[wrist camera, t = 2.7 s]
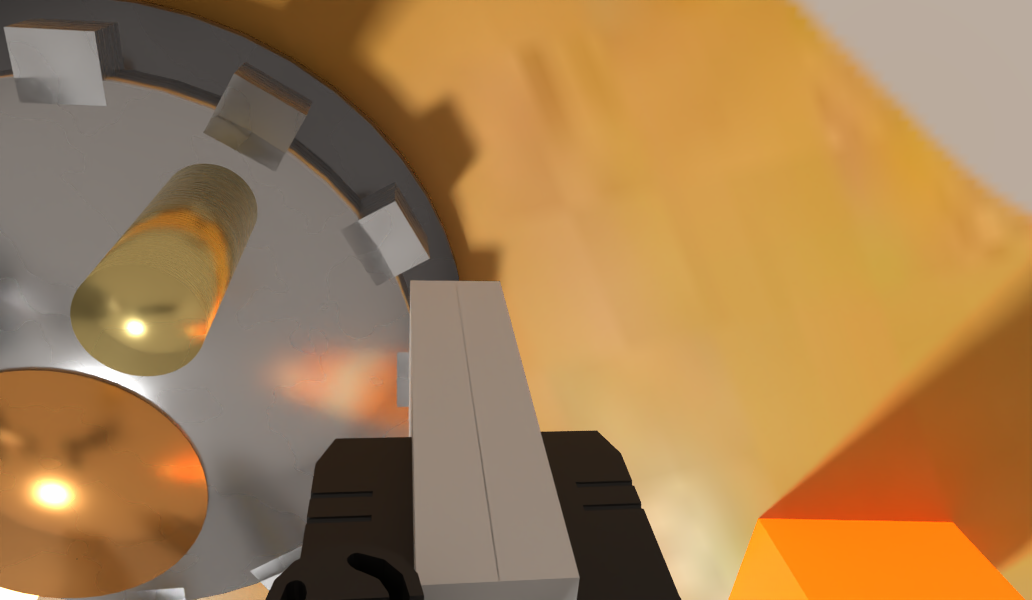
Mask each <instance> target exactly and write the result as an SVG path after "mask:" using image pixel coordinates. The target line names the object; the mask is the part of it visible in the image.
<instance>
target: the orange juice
mask: <svg viewBox="0 0 1032 600" xmlns="http://www.w3.org/2000/svg"><path fill="white" fill-rule="evenodd" d="M729 600H1025V599H1024V598H1023V597H1022V596H1021V595H1020V594H1019V593H1018V592H1017V591H1016V590H1015V589H1014V588H1013V586H1012V585H1011V584H1010V583H1009V582H1008V581H1007V580H1006V579H1005V578H1004V577H1003V576H1002V575H1001V574H1000V572H999V571H998V570H997V569H996V568H995V567H994V566H993V565H992V564H991V563H990V562H989V561H988V560H987V559H986V557H985V556H984V555H983V554H982V553H981V552H980V551H979V550H978V549H977V548H976V547H975V546H974V545H973V544H972V542H971V541H970V540H969V539H968V538H967V537H966V536H965V535H964V534H963V533H962V532H961V531H960V530H959V529H958V527H957V526H956V525H955V524H954V523H953V522H915V521H864V520H812V519H761V518H758V521H757V524H756V526H755V529H754V532H753V534H752V537H751V540H750V543H749V545H748V548H747V551H746V554H745V556H744V559H743V562H742V564H741V567H740V570H739V573H738V575H737V578H736V581H735V583H734V586H733V589H732V592H731V594H730V597H729Z"/></svg>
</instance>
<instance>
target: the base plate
mask: <svg viewBox="0 0 1032 600" xmlns="http://www.w3.org/2000/svg"><path fill="white" fill-rule="evenodd" d="M33 18H41V19H60V20H78V21H97V22H116V23H118V28H119V35H120V42H121V49H122V56H123V63H124V69H130V70H135V71H139V72H143V73H148V74H152V75H157V76H161V77H165V78H170V79H174V80H178V81H181V82H183V83H186V84H189V85H192V86H195V87H197V88H200V89H203V90H206V91H209V92H211V93H214V94H217V95H220V96H222V95H223V93H224V92H225V90H226V88H227V86H228V84H229V82H230V80H231V78H232V76H233V74H234V73H235V72H236V71H237V70H238V69H239V68H240V67H241V66H242V65H243V64H244V63H245V62H247V63H249V64H250V65H252V66H254V67H255V68H257V69H259V70H260V71H262V72H264V73H266V74H267V75H269V76H271V77H272V78H274V79H276V80H277V81H279V82H281V83H282V84H284V85H286V86H288V87H289V88H291V89H293V90H294V91H296V92H298V93H299V94H301V95H303V96H304V97H306V98H308V99H310V100H311V101H313V102H312V104H311V106H310V109H309V111H308V114H307V116H306V118H305V119H304V121H303V123H302V125H301V127H300V128H299V130H298V132H297V134H296V136H295V138H296V139H298V140H299V141H300V142H301V143H303V144H304V145H305V146H306V147H307V148H309V149H310V150H311V151H312V152H313V153H315V154H316V155H317V156H318V157H319V158H321V159H322V160H323V161H324V162H325V163H327V164H328V165H329V166H330V167H331V168H332V169H333V170H334V171H335V172H336V173H337V174H338V175H339V176H340V177H341V179H342V180H343V181H344V182H345V183H346V184H347V185H348V186H349V187H350V188H351V189H352V190H353V191H354V192H355V193H356V195H357V196H358V197H359V198H360V200H361V199H363V198H365V197H367V196H369V195H371V194H373V193H375V192H376V191H378V190H380V189H382V188H384V187H386V186H388V185H390V184H392V183H394V182H395V183H396V185H397V186H398V188H399V190H400V191H401V193H402V195H403V196H404V198H405V200H406V201H407V203H408V205H409V206H410V208H411V210H412V211H413V213H414V215H415V216H416V218H417V220H418V222H419V223H420V225H421V227H422V228H423V230H424V232H425V233H426V235H427V238H428V247H429V255H430V259H428V260H426V261H424V262H422V263H420V264H418V265H416V266H414V267H413V268H411V269H409V270H407V271H405V272H403V273H402V274H403V277H404V280H405V282H406V285H407V288H408V291H409V296H410V280H417V281H459V276H458V271H457V266H456V262H455V259H454V256H453V253H452V250H451V247H450V244H449V241H448V238H447V235H446V232H445V229H444V227H443V225H442V222H441V220H440V218H439V216H438V214H437V212H436V210H435V208H434V206H433V204H432V202H431V200H430V198H429V196H428V194H427V192H426V190H425V189H424V187H423V186H422V184H421V183H420V181H419V180H418V178H417V177H416V175H415V174H414V172H413V171H412V169H411V168H410V166H409V165H408V163H407V162H406V160H405V159H404V157H403V156H402V154H401V153H400V152H399V151H398V150H397V149H396V148H395V146H394V145H393V144H392V143H391V142H390V141H389V140H388V138H387V137H386V136H385V135H384V134H383V133H382V132H381V130H380V129H379V128H378V127H377V126H376V125H375V124H374V122H373V121H372V120H371V119H370V118H369V117H367V116H366V115H365V114H364V113H363V112H362V111H361V110H360V109H358V108H357V107H356V106H355V105H354V104H353V103H352V102H351V101H349V100H348V99H347V98H346V97H345V96H344V95H343V94H342V93H340V92H339V91H338V90H337V89H336V88H335V87H333V86H332V85H331V84H329V83H328V82H326V81H325V80H323V79H322V78H320V77H319V76H318V75H316V74H315V73H313V72H312V71H310V70H309V69H307V68H306V67H305V66H303V65H302V64H300V63H299V62H297V61H296V60H294V59H293V58H291V57H289V56H287V55H285V54H283V53H282V52H280V51H278V50H276V49H274V48H272V47H270V46H268V45H266V44H264V43H263V42H261V41H259V40H257V39H255V38H253V37H251V36H249V35H247V34H245V33H243V32H240V31H237V30H235V29H232V28H230V27H227V26H224V25H222V24H219V23H217V22H214V21H211V20H209V19H206V18H204V17H201V16H198V15H196V14H192V13H188V12H184V11H180V10H176V9H172V8H168V7H164V6H160V5H156V4H152V3H148V2H144V1H139V0H0V71H3V70H10V69H12V65H11V60H10V55H9V51H8V46H7V41H6V36H5V32H4V26H8V25H12V24H15V23H19V22H22V21H26V20H29V19H33Z"/></svg>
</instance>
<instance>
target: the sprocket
mask: <svg viewBox="0 0 1032 600" xmlns="http://www.w3.org/2000/svg"><path fill="white" fill-rule="evenodd" d="M4 32H5V36H6V41H7V46H8V51H9V55H10V60H11V65H12V69H10V70H3V71H0V600H37V598H38V596H41V597H52V598H61V599H67V600H197V599H199V598H203V597H208V596H213V595H218V594H223V593H227V592H230V591H233V590H237V589H240V588H243V587H246V586H250V585H253V584H256V583H259V582H261V583H262V584H263V585H264V586H265V587H266V588H267V589H268V590H269V591H270V589H271V586H272V584H273V582H274V580H275V579H276V578H277V577H278V576H279V575H280V574H281V573H282V572H284V571H285V570H286V569H287V568H288V567H289V566H290V565H291V564H292V563H293V562H294V561H296V560H298V559H300V556H301V550H302V544H303V537H304V531H305V525H306V523H307V513H308V506H309V500H310V499H311V488H312V482H313V476H314V469H315V464H316V462H317V461H318V460H319V459H320V457H321V456H322V455H323V454H324V452H325V451H326V450H327V449H328V447H329V446H330V445H331V444H332V442H333V441H334V440H335V439H337V438H385V437H409V343H410V296H409V291H408V288H407V285H406V282H405V280H404V277H403V274H402V273H403V272H405V271H407V270H409V269H411V268H413V267H414V266H416V265H418V264H420V263H422V262H424V261H426V260H428V259H430V255H429V247H428V238H427V235H426V233H425V232H424V230H423V228H422V227H421V225H420V223H419V222H418V220H417V218H416V216H415V215H414V213H413V211H412V210H411V208H410V206H409V205H408V203H407V201H406V200H405V198H404V196H403V195H402V193H401V191H400V190H399V188H398V186H397V185H396V183H395V182H394V183H392V184H390V185H388V186H386V187H384V188H382V189H380V190H378V191H376V192H375V193H373V194H371V195H369V196H367V197H365V198H363V199H361V200H360V198H359V197H358V196H357V195H356V193H355V192H354V191H353V190H352V189H351V188H350V187H349V186H348V185H347V184H346V183H345V182H344V181H343V180H342V179H341V177H340V176H339V175H338V174H337V173H336V172H335V171H334V170H333V169H332V168H331V167H330V166H329V165H328V164H327V163H325V162H324V161H323V160H322V159H321V158H319V157H318V156H317V155H316V154H315V153H313V152H312V151H311V150H310V149H309V148H307V147H306V146H305V145H304V144H303V143H301V142H300V141H299V140H298V139H296V138H295V136H296V134H297V132H298V130H299V128H300V127H301V125H302V123H303V121H304V119H305V118H306V116H307V114H308V111H309V109H310V106H311V104H312V102H313V101H311V100H310V99H308V98H306V97H304V96H303V95H301V94H299V93H298V92H296V91H294V90H293V89H291V88H289V87H288V86H286V85H284V84H282V83H281V82H279V81H277V80H276V79H274V78H272V77H271V76H269V75H267V74H266V73H264V72H262V71H260V70H259V69H257V68H255V67H254V66H252V65H250V64H249V63H247V62H245V63H244V64H243V65H242V66H241V67H240V68H239V69H238V70H237V71H236V72H235V73H234V74H233V76H232V78H231V80H230V82H229V84H228V86H227V88H226V90H225V92H224V93H223V95H222V96H220V95H217V94H214V93H211V92H209V91H206V90H203V89H200V88H197V87H195V86H192V85H189V84H186V83H183V82H181V81H178V80H174V79H170V78H165V77H161V76H157V75H152V74H148V73H143V72H139V71H135V70H130V69H124V63H123V56H122V49H121V42H120V35H119V28H118V23H116V22H97V21H78V20H60V19H41V18H33V19H29V20H26V21H22V22H19V23H15V24H12V25H8V26H4Z"/></svg>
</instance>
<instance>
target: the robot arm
mask: <svg viewBox="0 0 1032 600" xmlns="http://www.w3.org/2000/svg"><path fill="white" fill-rule="evenodd" d="M266 600H681V598H680V596H679V594H678V592H677V589H676V587H675V584H674V582H673V580H672V577H671V575H670V572H669V570H668V567H667V565H666V563H665V560H664V558H663V555H662V553H661V550H660V548H659V545H658V543H657V541H656V538H655V536H654V533H653V531H652V528H651V526H650V523H649V521H648V519H647V516H646V514H645V511H644V509H642V508H641V501H640V499H639V497H638V494H637V492H636V489H635V487H634V486H632V479H631V477H630V475H629V472H628V470H627V467H626V465H625V462H624V460H623V457H622V455H621V453H620V452H619V451H618V450H617V449H616V448H615V447H614V446H612V445H611V444H610V443H609V442H608V441H607V440H606V439H605V438H604V437H603V436H602V435H601V434H600V433H599V432H598V431H557V432H540V428H539V425H538V421H537V417H536V413H535V410H534V406H533V402H532V398H531V395H530V391H529V387H528V384H527V380H526V376H525V372H524V369H523V365H522V361H521V358H520V354H519V350H518V346H517V343H516V339H515V335H514V332H513V328H512V324H511V320H510V317H509V313H508V309H507V306H506V302H505V298H504V294H503V291H502V287H501V283H500V281H417V280H410V343H409V437H385V438H337V439H335V440H334V441H333V442H332V444H331V445H330V446H329V447H328V449H327V450H326V451H325V452H324V454H323V455H322V456H321V457H320V459H319V460H318V461H317V462H316V464H315V469H314V476H313V482H312V488H311V499H310V500H309V506H308V513H307V523H306V525H305V531H304V537H303V544H302V550H301V556H300V559H298V560H296V561H294V562H293V563H292V564H291V565H290V566H289V567H288V568H287V569H286V570H285V571H284V572H282V573H281V574H280V575H279V576H278V577H277V578H276V579H275V580H274V582H273V584H272V586H271V589H270V591H269V593H268V595H267V597H266Z"/></svg>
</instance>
